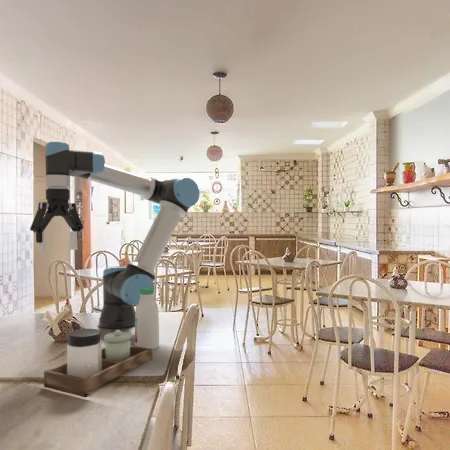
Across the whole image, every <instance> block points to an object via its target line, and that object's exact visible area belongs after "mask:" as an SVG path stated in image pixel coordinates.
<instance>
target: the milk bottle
mask: <svg viewBox="0 0 450 450" xmlns="http://www.w3.org/2000/svg"><path fill="white" fill-rule="evenodd" d="M154 295H155V288H154V289H153V288H141V289H140V302H139V304H138V305H137V307H136V309H135V312H136V313H135V325H134V346H138V347H143V348H149V349H152V350H154V349H157V348H159V346H160V317H159V309H158V307H157V304H156V303H155V299H154Z"/></svg>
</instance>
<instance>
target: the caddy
mask: <svg viewBox="0 0 450 450" xmlns="http://www.w3.org/2000/svg"><path fill="white" fill-rule="evenodd" d="M151 360H153V349H149V348H143V347H138V346H135V345H133V344H130V358H128V359H126V360H124V361H122V362H118V361H113V360H107V359H106V354H105V346H104V347H102V371H100V372H98V373H96V374H94V375H92V376H89V377H87V378H80V377H76V376H71V375H67V361H66V362H64V363H60V364H59V365H56V366H54V367H51V368H48V369H46V370H44V371H43V381H44V382H43V388H48V389H51V390H56V391H59V392H64V393H67V394H71V395H74V396H78V397H79V396H80V397H82V398H86V397H88V396H90V391H92V390H94V389H96V388H98V387H100V386H102V385H105V384H106V383H108V382H111V381H112V380H114V379H116V378H118V377H120V376H122V375H124V374H126V373H128V372H130V371H131V370H134V369H136V368H137V367H139V366H141V365H143V364H145V363H147V362H149V361H151ZM88 392H89V393H88Z"/></svg>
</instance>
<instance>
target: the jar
mask: <svg viewBox="0 0 450 450" xmlns="http://www.w3.org/2000/svg"><path fill="white" fill-rule="evenodd" d="M101 337H102V336H101V330H99V329H96V328H80V329H75V330H72V331H70V332H69V333H68V336H67V345H66V362H67V375H71V376H76V377H80V378H87V377H89V376H92V375H94V374H96V373H98V372H100V371H102V348H103V347H102V339H101Z"/></svg>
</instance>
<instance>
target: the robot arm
mask: <svg viewBox="0 0 450 450" xmlns="http://www.w3.org/2000/svg"><path fill="white" fill-rule="evenodd" d="M44 151H45V154H44V157H45V158H44V159H45V162H44V163H45V187H46V190H45V199H46V200H47V201H41V202H39V203H38V206H37V208H38V209H37V211H36V214H35V215H34V218H33V221H32V223H31V226H30V228H29V229H30V231H32V232H33V233H35V242H36V243H37V253H38V254H46V253H47V252H46V232H45V230H46V228H47V227H48V225H49V224H50V223H51V221H52V220H53V218H54V217H61V218H63V219H64V220H65V222H66V224H67V225H68V227H69V229H70V231H69V249H70V251H78V240H79V232H81V231H82V230H83V229H84V226H83V223H82V221H81V217H80V216H79V213H78V210H77V204H76V203H75V202H71V203H69V201H70V197H71V196H70V195H71V194H70V192H71V191H70V185H71V184H70V177H77V178H80V179H84V180H88V181H92V182H95V183H99V184H102V185H105V186H108V187H113V188H114V189H119V190H122V191H125V192H128V193H131V194H135V195H138V196H141V197H143V199H144V200H147V201H149V202H151V203H152V202H153V203H155V204H158V205H160V209H159V211H158V213H156V214H157V215H156V216H155V218H154V220H153V222H152V224H151V227H150V229H149V230H148V232H147V234H146V235H145V236H146V237H145V238H144V240H143V243H142V244H141V246H140V248H139V250H138V252H137V254H136V256H135V258H134V259H133V261H131V262H128V263H127V264H126V266H119V267H118V266H117V267H107V268H105V269H104V270H103V272H102V290H103V291H102V294H103V297H102V299H103V301H102V302H103V305H102V310H101V312H100V315H99V317H98V318H99V319H98V326H99V327H101V328H104V329H125V328H130V327H135V313H136V309H135V306H138V304H139V302H140V289H141V288H153V289H154V290H155V284H154V280H156V277H157V275H156V273H155V270H156V268H157V265H158V264H159V261H160V259H161V258H162V255H163V253H164V252H165V250H166V247H167V245H168V243H169V241H170V239H171V237H172V235H173V233H174V231H175V229H176V226H177V224H178V223H179V221H180V219H181V218H182V217H185V216H186V215H187V214H188V211H189V209H190V207H193V206H195V205H196V204H197V203H198V201H199V199H200V195H201V193H200V189H199V186H198V184H197V183H196V181H195V180H194V179H192V178H190V177H186V176H185V177H184V176H181V177H177V178H170V179H169V178H168V179H158V178H154V177H148V178H147V177H144V176H141V175H137V174H134V173H132V172H128V171H125V170H123V169H120V168H117V167H113V166H110V165H107V164H106V159H105V155H104V154H103V153H102V152H99V151H88V150H87V151H86V150H76V149H75V150H74V149H71V148H70V144H69V143H68V142H64V141H50V142H48V143H46V145H45V150H44Z"/></svg>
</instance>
